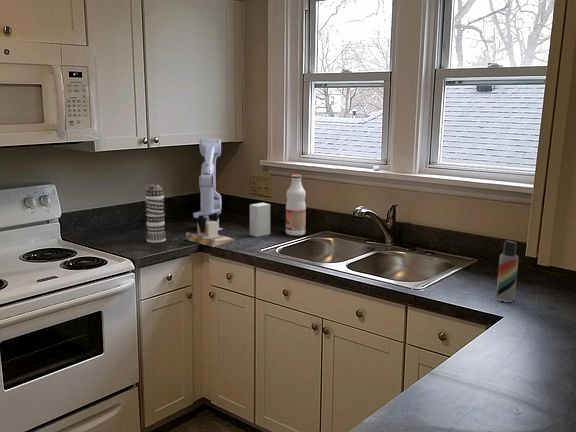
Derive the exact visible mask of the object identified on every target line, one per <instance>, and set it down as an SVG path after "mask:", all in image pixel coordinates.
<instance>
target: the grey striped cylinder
mask: <svg viewBox="0 0 576 432" xmlns="http://www.w3.org/2000/svg"><path fill="white" fill-rule="evenodd" d="M144 189H145V201H144V208H145V210H144V211H145V213H144V214H145V216H146V225H145V228H146V229H145V231H146V233H145V234H146V236H145V238H146V242H147V243H153V244H154V243H155V244H156V243H162V242H163V243H164V242H165V241H166V240H167V239H166V237H167V236H166V234H167V233H166V229H167V228H166V226H167V225H166V223H165V215H166V212H164V211H165V210H166V208H165V207H166V204H164V203H165V202H166V197H165V195H164V187H163V186H162V185H161V184H156V183H155V184H154V183H153V184H148V185H147V186H146V188H144Z"/></svg>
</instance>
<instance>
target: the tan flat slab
mask: <svg viewBox="0 0 576 432" xmlns="http://www.w3.org/2000/svg"><path fill="white" fill-rule="evenodd" d="M185 234H186V235H185V237H186V238H185V240H187V241H189V242H192V243H197V244H200V245H204V246H208V247H212V248H215V247H218V246H223V245H226V243H227V244H231V243H230V242H232V243H235V242H236V238H232V237H229V236H224V235H222V234H218V237H216V238H208V237H204V236H200V235H198V234H196V233H192V232H186V233H185ZM234 241H235V242H234ZM222 244H223V245H222Z"/></svg>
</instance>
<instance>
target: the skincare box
mask: <svg viewBox="0 0 576 432" xmlns="http://www.w3.org/2000/svg"><path fill="white" fill-rule="evenodd" d="M269 235H271V204H270V203H266V202H258V203H252V204H249V236H253V237H255V238H258V237H260V238H261V237H263V236H269Z"/></svg>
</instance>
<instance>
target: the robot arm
mask: <svg viewBox="0 0 576 432" xmlns="http://www.w3.org/2000/svg"><path fill="white" fill-rule="evenodd" d="M198 143H199V153H200V154H201V157H204V162H202V164H201V170H200V175H199V177H198V184H199V191H200V210H199V211H196V212H193V213H192V215H193V218H194V219H195V221H196V222H198V224H197V226H198V225H199V228H200V231H201V232H203V233H204V232H205V223H206V219H208V220H212V221H216V222H218V231H222V230H223V229H224V228H222V227H220V214H221V213H222V203H223V202H222V201H223V200H222V195H221V194H220V193H218V191H216V186H217V184H216V182H217V181H216V176H217V173H216V171H217V170H216V169H217V167H216V166H217V165H216V163H217V159H218V157H221V153H222V140H221V139H220V138H202V137H201V138H200V139H199V142H198Z"/></svg>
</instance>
